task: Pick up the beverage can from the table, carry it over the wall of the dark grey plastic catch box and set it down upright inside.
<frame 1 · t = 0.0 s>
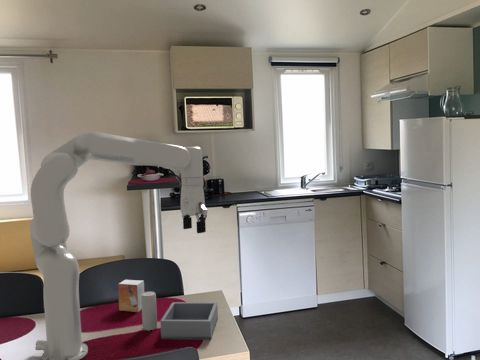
hand: (194, 230, 149), 31 cm above the table, tool pointing down, fingers open, 9 cm apart
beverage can: (150, 328, 143), on the table
catch box: (191, 328, 142), on the table
small box: (132, 309, 161), on the table
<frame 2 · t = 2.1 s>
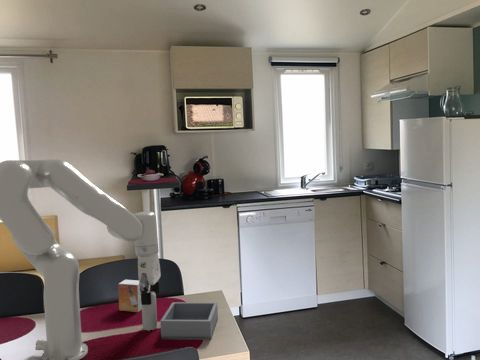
hand: (150, 298, 143), 10 cm above the table, tool pointing down, fingers open, 9 cm apart
nothing on the table moved.
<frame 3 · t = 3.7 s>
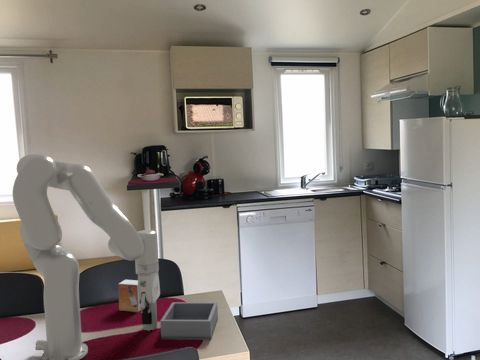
hand: (149, 319, 143), 3 cm above the table, tool pointing down, fingers closed on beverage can, 4 cm apart
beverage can: (150, 328, 143), on the table, touching gripper
everything else where it was.
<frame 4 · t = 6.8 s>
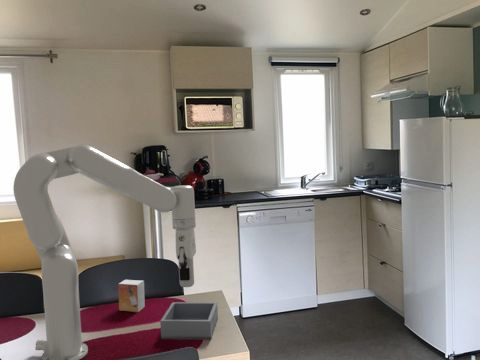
hand: (186, 276, 141), 18 cm above the table, tool pointing down, fingers closed on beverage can, 4 cm apart
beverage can: (187, 285, 141), point 15 cm above the table, touching gripper
everything else where it was.
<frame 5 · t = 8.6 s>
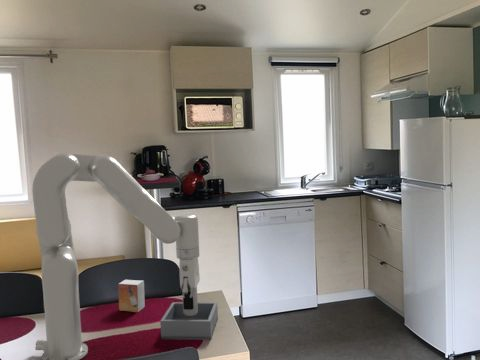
hand: (190, 305, 141), 8 cm above the table, tool pointing down, fingers closed on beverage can, 4 cm apart
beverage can: (190, 314, 142), point 5 cm above the table, touching gripper
everything else where it was.
when the fingers open (5 cm above the table, at t = 9.9 s): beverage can drops 1 cm, resting on catch box.
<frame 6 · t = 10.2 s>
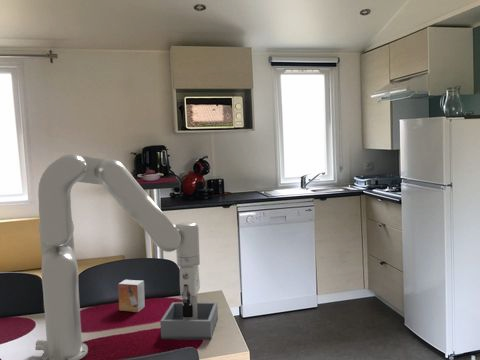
hand: (190, 311, 141), 6 cm above the table, tool pointing down, fingers open, 7 cm apart
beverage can: (190, 326, 142), point 1 cm above the table, touching catch box
everything else where it was.
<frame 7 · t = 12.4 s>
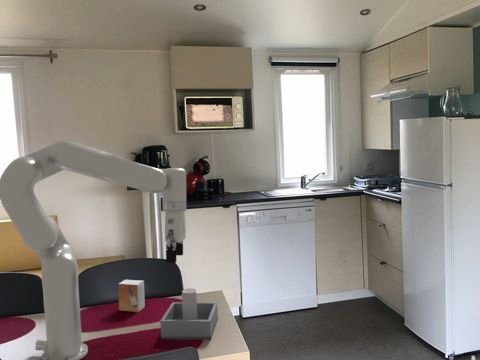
hand: (174, 258, 138), 25 cm above the table, tool pointing down, fingers open, 9 cm apart
nothing on the table moved.
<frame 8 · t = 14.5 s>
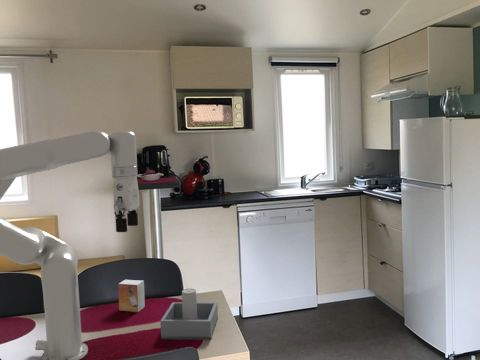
hand: (127, 228, 129), 36 cm above the table, tool pointing down, fingers open, 9 cm apart
nothing on the table moved.
at the end: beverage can inside the target area on the catch box (0.2 cm from its centre), point 0.8 cm above the catch box's base; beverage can tilted 0°; the gripper is holding nothing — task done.
